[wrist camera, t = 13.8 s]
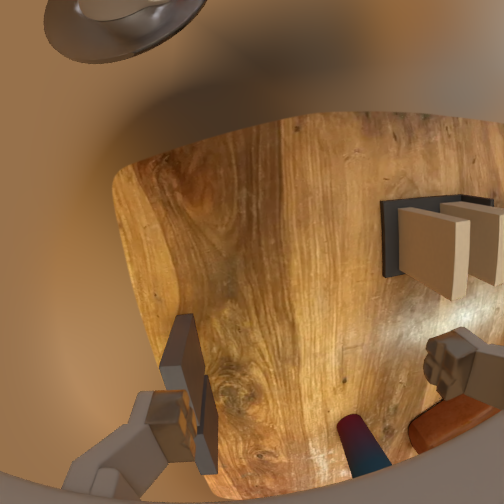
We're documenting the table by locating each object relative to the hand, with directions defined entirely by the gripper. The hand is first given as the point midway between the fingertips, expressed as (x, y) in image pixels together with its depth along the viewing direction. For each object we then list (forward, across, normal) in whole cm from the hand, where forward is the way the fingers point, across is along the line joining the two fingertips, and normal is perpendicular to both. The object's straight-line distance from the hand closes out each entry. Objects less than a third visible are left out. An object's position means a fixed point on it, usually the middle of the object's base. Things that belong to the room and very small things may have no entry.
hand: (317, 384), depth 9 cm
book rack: (+32, -26, +5) cm, 42 cm away
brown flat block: (+31, -22, +5) cm, 38 cm away
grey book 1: (+32, +10, +16) cm, 37 cm away
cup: (+32, -14, +39) cm, 52 cm away
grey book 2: (+32, +10, +26) cm, 42 cm away
